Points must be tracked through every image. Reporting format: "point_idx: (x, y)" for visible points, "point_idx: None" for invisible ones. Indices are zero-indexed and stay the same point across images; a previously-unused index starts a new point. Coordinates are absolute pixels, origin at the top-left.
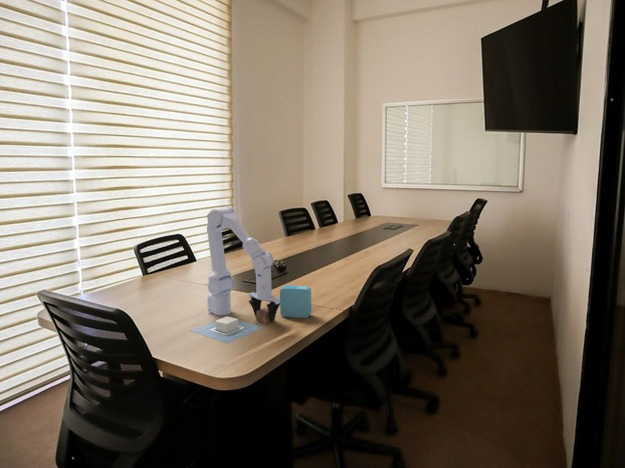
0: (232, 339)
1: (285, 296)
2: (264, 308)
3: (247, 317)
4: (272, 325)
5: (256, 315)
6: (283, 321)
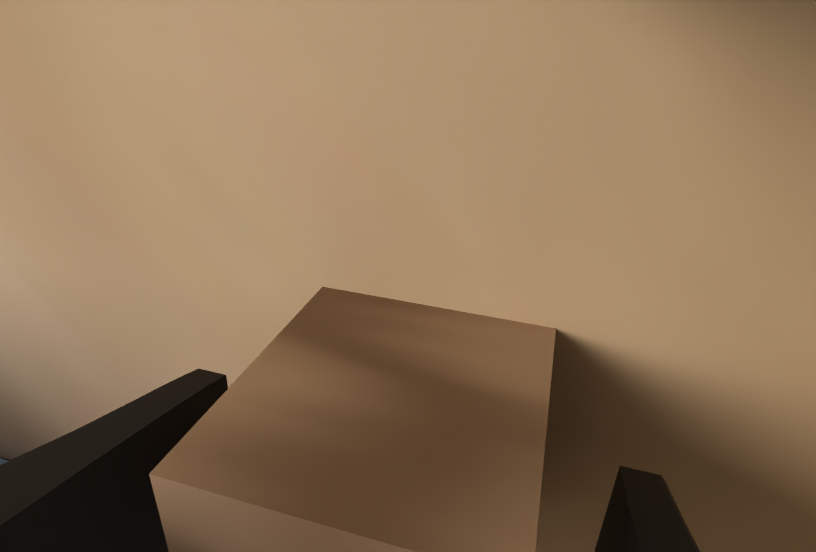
0: None
1: None
2: (190, 511)
3: (34, 300)
4: None
5: None
6: (789, 194)
